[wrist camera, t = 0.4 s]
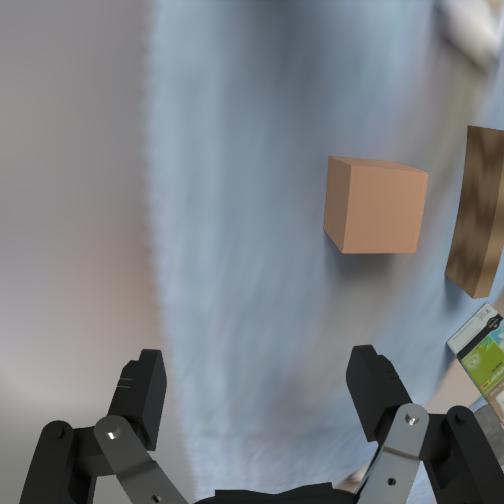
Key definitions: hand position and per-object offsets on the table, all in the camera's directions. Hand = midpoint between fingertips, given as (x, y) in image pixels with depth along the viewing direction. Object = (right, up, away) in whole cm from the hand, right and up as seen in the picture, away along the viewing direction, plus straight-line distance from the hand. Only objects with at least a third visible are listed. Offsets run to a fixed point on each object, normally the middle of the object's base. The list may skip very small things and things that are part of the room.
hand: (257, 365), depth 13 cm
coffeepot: (+54, -35, +43) cm, 77 cm away
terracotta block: (+12, +11, +21) cm, 26 cm away
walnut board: (+28, +11, +22) cm, 37 cm away
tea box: (+39, -11, +32) cm, 52 cm away
